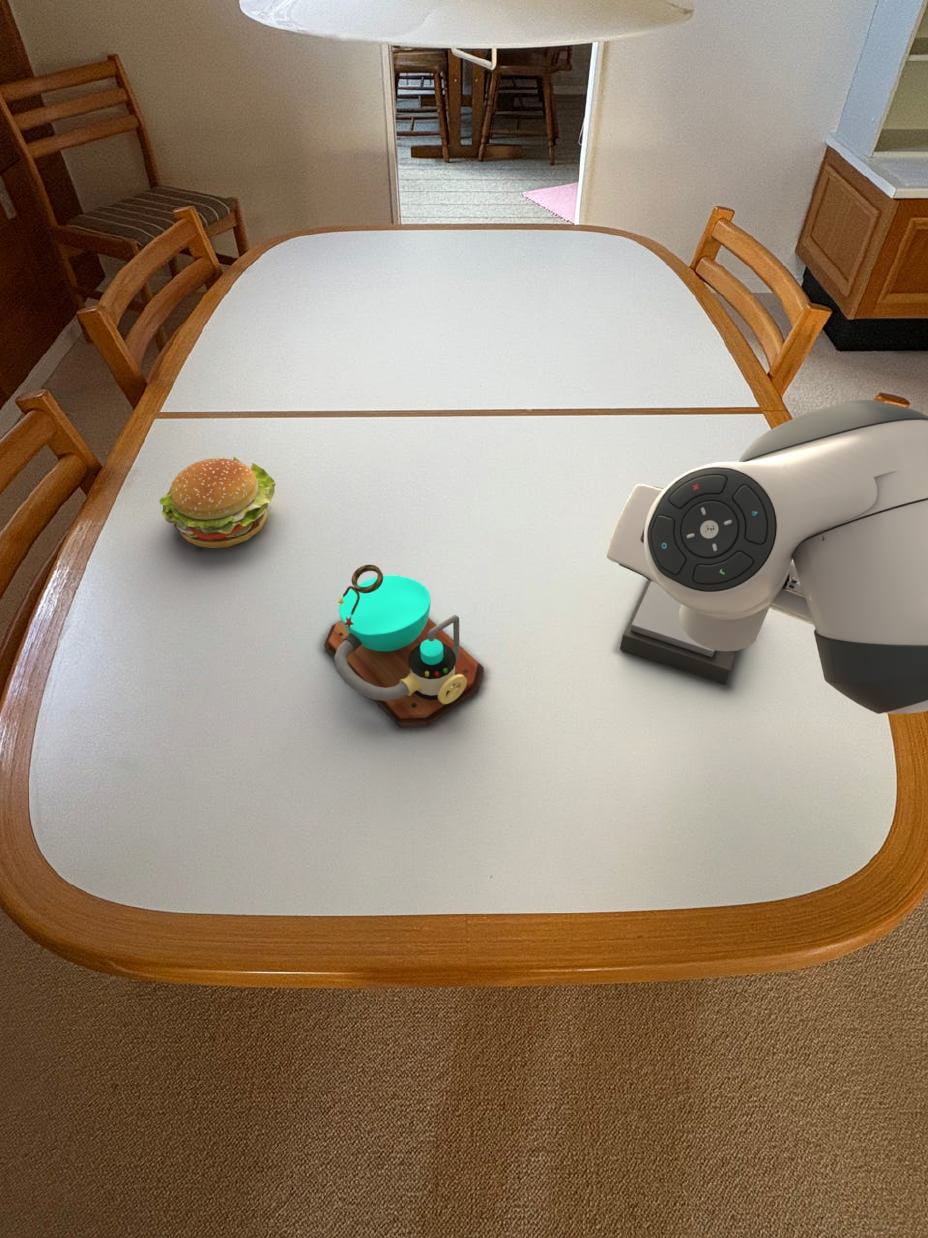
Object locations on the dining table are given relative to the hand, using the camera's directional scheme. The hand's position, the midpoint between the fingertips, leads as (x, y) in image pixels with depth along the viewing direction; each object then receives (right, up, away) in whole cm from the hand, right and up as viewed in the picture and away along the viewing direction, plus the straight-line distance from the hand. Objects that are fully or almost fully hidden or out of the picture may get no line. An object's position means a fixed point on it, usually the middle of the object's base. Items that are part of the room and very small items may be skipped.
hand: (735, 575), depth 71 cm
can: (0, -5, +4) cm, 7 cm away
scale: (+1, -5, +20) cm, 21 cm away
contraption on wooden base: (-32, -9, +17) cm, 38 cm away
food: (-56, +9, +33) cm, 66 cm away
